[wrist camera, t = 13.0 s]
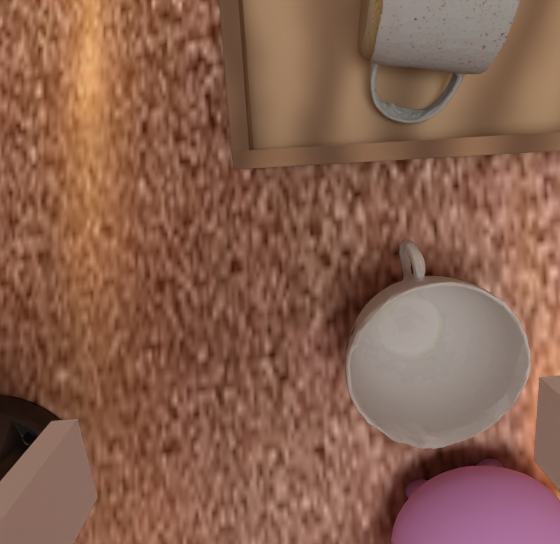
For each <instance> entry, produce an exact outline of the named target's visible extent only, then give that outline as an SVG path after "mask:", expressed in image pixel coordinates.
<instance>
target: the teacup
mask: <svg viewBox="0 0 560 544" xmlns="http://www.w3.org/2000/svg"><path fill="white" fill-rule="evenodd" d="M399 255H400V260H401V265H402V270H403V280H402V281H400V282H397V283H395V284H392V285H390V286H389V287H387V288H385V289H383V290H382V291H380V292H379V293H378V294H377V295H375V296H374V297H373V298H372V299H371V300H370V301H369V302H368V303H367V304H366V305H365V306H364V308H363V309H362V311H361V312H360V313H359V315H358V316H357V318H356V320H355V322H354V324H353V327H352V329H351V332H350V335H349V339H348V343H347V348H346V359H345V368H346V378H347V386H348V390H349V393H350V396H351V398H352V401H353V403H354V405H355V407H356V408H357V410H358V411H359V412H360V413H361V415H362V416H363V417H364V418H365V419H366V421H367V422H368V423H369V424H370V425H372V426H374V427H376V428H377V429H378V430H379V431H381V432H383V433H384V434H386V435H387V436H388V437H389V438H391V439H392V440H393V441H396V442H399V443H407V444H409V445H411V446H413V447H420V448H423V449H426V448H434V449H436V448H442V447H445V446H447V445H451V444H454V443H457V442H460V441H463V440H466V439H469V438H471V437H473V436H475V435H477V434H479V433H480V432H483V431H485V430H486V429H488V428H489V427H490V426H492V425H493V424H494V423H496V422H497V421H498V420H499V419H500V418H501V417H502V416H503V415H504V414H505V413H506V412H507V411H509V410H510V409H511V408H512V406H513V405H514V403H515V401H516V400H517V398H518V397H519V395H520V393H521V391H522V389H523V388H524V386H525V384H526V382H527V379H528V377H529V373H530V361H531V359H530V349H529V345H528V340H527V336H526V334H525V331H524V329H523V326H522V324H521V322H520V320H519V319H518V317H517V316H516V315H515V314H514V313H513V311H512V310H511V309H510V308H509V307H508V305H507V304H506V303H505V302H504V301H502V300H501V299H499V298H498V297H496V296H494V295H493V294H491V293H490V292H488V291H486V290H485V289H483V288H481V287H479V286H476V285H474V284H471V283H469V282H466V281H463V280H459V279H455V278H450V277H444V276H424V275H425V261H424V258H423V256H422V254H421V252H420V251H419V249H418V248H417V247H416V245H415V244H414V243H413V242H412V241H411V240H410V239H407V238H406V239H404V240H403V241H402V242H401V243H400V245H399ZM410 261H411V262H410ZM411 264H412V267H413V275H412V273H411Z"/></svg>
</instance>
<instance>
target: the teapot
mask: <svg viewBox="0 0 560 544" xmlns="http://www.w3.org/2000/svg"><path fill="white" fill-rule="evenodd" d="M406 496H407V497H408V498H409V499H408V500H407V501H406V503H405V504H404V505H403V507H402V508H401V510H400V512H399V514H398V516H397V518H396V520H395V523H394V527H393V532H392V538H391V544H560V500H559V499H558V498H557V496H556V495H555V494H554V493H553V492H552V491H551V490H550V489H549V488H548V487H546V486H545V485H543V484H542V483H540V482H539V481H537V480H536V479H534V478H532V477H530V476H528V475H526V474H524V473H521V472H518V471H515V470H511V469H506V468H503V465H502V463H501V462H499V461H498V460H496V459H485V460H482V461H480V462H479V463H478V464H477V465H476V466H467V467H460V468H456V469H452V470H449V471H446V472H443V473H441V474H439V475H437V476H435V477H433V478H431V479H430V480H428V481H427V480H424V479H417V480H414V481H412V482H410V483H409V484H408V486H407V487H406Z"/></svg>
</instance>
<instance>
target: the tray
mask: <svg viewBox="0 0 560 544" xmlns="http://www.w3.org/2000/svg"><path fill="white" fill-rule="evenodd" d="M219 7H220V18H221V30H222V42H223V54H224V65H225V77H226V89H227V101H228V113H229V124H230V136H231V148H232V160H233V169H249V168H266V167H284V166H301V165H318V164H336V163H353V162H370V161H388V160H405V159H422V158H440V157H457V156H475V155H492V154H509V153H527V152H544V151H560V0H520V3H519V6H518V9H517V12H516V15H515V19H514V21H513V24H512V26H511V28H510V31H509V34H508V37H507V39H506V41H505V43H504V45H503V47H502V49H501V51H500V52H499V55H498V56H497V57H496V59H495V61H494V62H493V63H492V65H491V66H490V67H489V68H488V69H487V70H486V71H485V72H483V73H481V74H466V75H464V76H463V79H462V81H461V83H460V85H459V87H458V89H457V91H456V92H455V94H454V96H453V97H452V98H451V100H450V101H449V102H448V104H447V105H446V106H445V107H444V108H443V109H442V110H441V111H440V112H439V113H437V114H436V115H435V116H433V117H432V118H430V119H428V120H426V121H423V122H420V123H409V124H408V123H402V122H397V121H393V120H391V119H389V118H387V117H386V116H384V115H383V114H382V113H381V112H380V111H379V110H378V109H377V107H376V106H375V104H374V102H373V100H372V96H371V92H370V83H369V70H370V65H371V63H370V61H367V60H365V59H364V58H363V57H362V55H361V54H360V52H359V48H358V33H359V20H360V8H361V0H219ZM452 75H453V72H444V71H436V70H426V69H419V68H412V67H393V66H385V65H380V66H379V67H378V69H377V77H376V80H377V89H376V91H377V93H378V95H379V97H380V99H381V101H382V102H384V103H386V104H387V103H393V104H394V105H395V106H399V107H402V108H409V109H414V110H419V109H424V108H427V107H428V106H430V105H431V104H433V103H434V102H435V101H436V100H437V99H438V98H439V97H440V95H441V94H442V92H443V91H444V90H445V88H446V87H447V85H448V83H449V81H450V79H451V77H452Z"/></svg>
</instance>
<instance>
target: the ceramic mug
mask: <svg viewBox="0 0 560 544" xmlns="http://www.w3.org/2000/svg"><path fill="white" fill-rule="evenodd" d="M519 3H520V0H361V8H360V20H359V33H358V48H359V52H360V54H361V55H362V57H363V58H364V59H365V60H367V61H370V63H371V65H370V70H369V83H370V92H371V96H372V100H373V102H374V104H375V106H376V107H377V109H378V110H379V111H380V112H381V113H382V114H383V115H384V116H386V117H387V118H389V119H391V120H393V121H397V122H402V123H408V124H409V123H420V122H423V121H426V120H428V119H430V118H432V117H433V116H435V115H436V114H437V113H439V112H440V111H441V110H442V109H443V108H444V107H445V106H446V105H447V104H448V102H449V101H450V100H451V98H452V97H453V96H454V94H455V92H456V91H457V89H458V87H459V85H460V83H461V81H462V79H463V76H464V75H466V74H481V73H483V72H485V71H486V70H487V69H488V68H489V67H490V66H491V65H492V63H493V62H494V61H495V59H496V57H497V56H498V55H499V52H500V51H501V49H502V47H503V45H504V43H505V41H506V39H507V37H508V34H509V31H510V28H511V26H512V24H513V21H514V19H515V15H516V12H517V9H518V6H519ZM380 65H385V66H393V67H412V68H419V69H426V70H436V71H444V72H453V75H452V77H451V79H450V81H449V83H448V85H447V87H446V88H445V90H444V91H443V92H442V94H441V95H440V97H439V98H438V99H437V100H436V101H435V102H434V103H433V104H431V105H430V106H428V107H427V108H424V109H419V110H414V109H409V108H402V107H399V106H395V105H394V104H393V103H387V104H386V103H384V102H382V101H381V99H380V97H379V95H378V93H377V91H376V89H377V80H376V77H377V69H378V67H379V66H380Z"/></svg>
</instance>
